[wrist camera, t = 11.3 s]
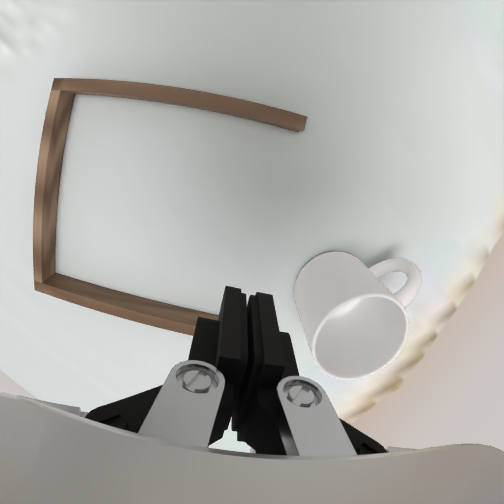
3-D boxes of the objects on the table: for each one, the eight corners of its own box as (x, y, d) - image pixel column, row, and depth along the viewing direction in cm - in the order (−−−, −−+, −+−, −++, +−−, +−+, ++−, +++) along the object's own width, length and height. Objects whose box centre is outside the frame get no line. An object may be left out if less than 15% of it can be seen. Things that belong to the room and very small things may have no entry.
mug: (378, 215, 30) (431, 246, 20) (404, 277, 32) (452, 323, 22) (277, 275, 32) (292, 331, 22) (314, 332, 34) (336, 395, 24)
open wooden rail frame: (69, 82, 24) (54, 78, 21) (300, 119, 27) (307, 116, 24) (47, 279, 31) (34, 289, 28) (243, 330, 34) (243, 346, 31)
